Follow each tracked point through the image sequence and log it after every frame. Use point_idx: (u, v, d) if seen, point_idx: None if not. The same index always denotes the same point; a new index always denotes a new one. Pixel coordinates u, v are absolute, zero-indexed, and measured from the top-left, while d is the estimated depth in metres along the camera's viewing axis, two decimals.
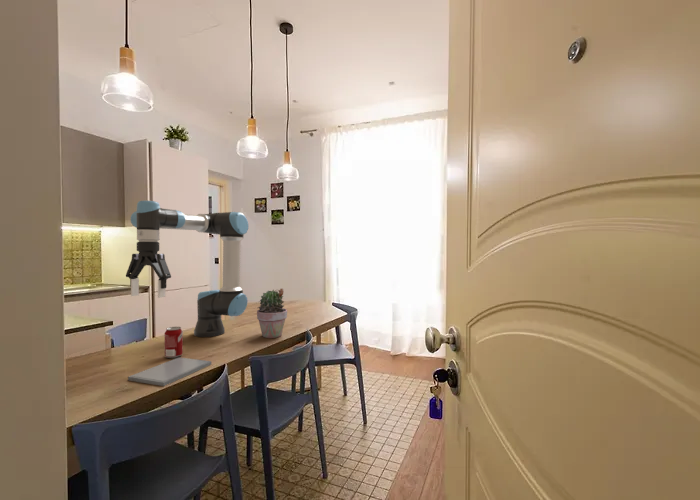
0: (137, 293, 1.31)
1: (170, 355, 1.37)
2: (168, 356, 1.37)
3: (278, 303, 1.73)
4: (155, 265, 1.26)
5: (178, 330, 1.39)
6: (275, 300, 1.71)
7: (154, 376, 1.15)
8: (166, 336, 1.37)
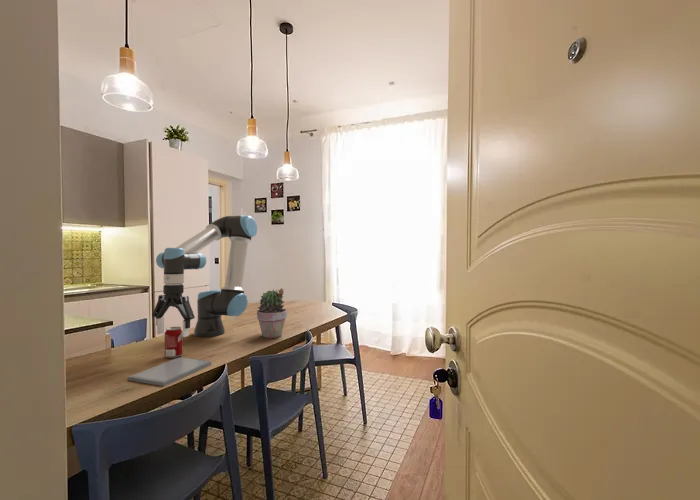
0: (162, 331, 1.43)
1: (170, 355, 1.37)
2: (168, 356, 1.37)
3: (278, 303, 1.73)
4: (180, 307, 1.38)
5: (178, 330, 1.39)
6: (275, 300, 1.71)
7: (154, 376, 1.15)
8: (166, 336, 1.37)
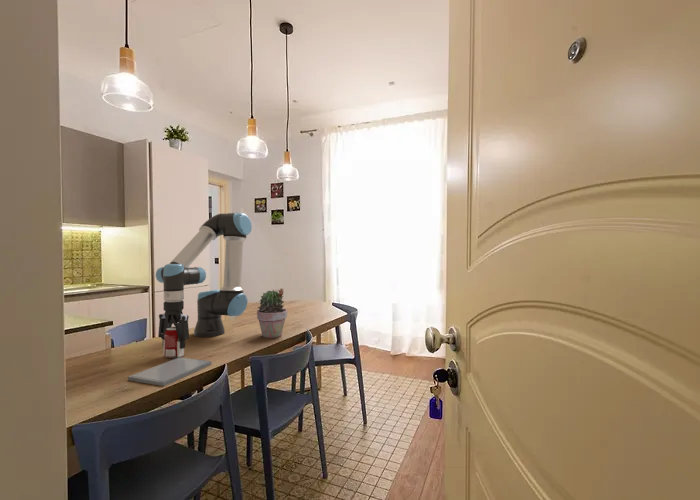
0: None
1: (170, 355, 1.37)
2: (168, 356, 1.37)
3: (278, 303, 1.73)
4: (178, 325, 1.39)
5: None
6: (275, 300, 1.71)
7: (154, 376, 1.15)
8: (166, 336, 1.37)
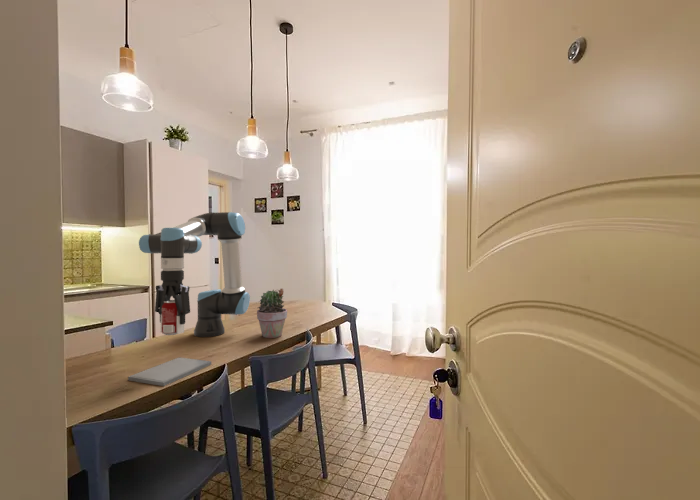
0: None
1: (168, 331, 1.19)
2: (166, 332, 1.19)
3: (278, 303, 1.73)
4: (177, 298, 1.21)
5: None
6: (275, 300, 1.71)
7: (154, 376, 1.15)
8: (164, 309, 1.20)
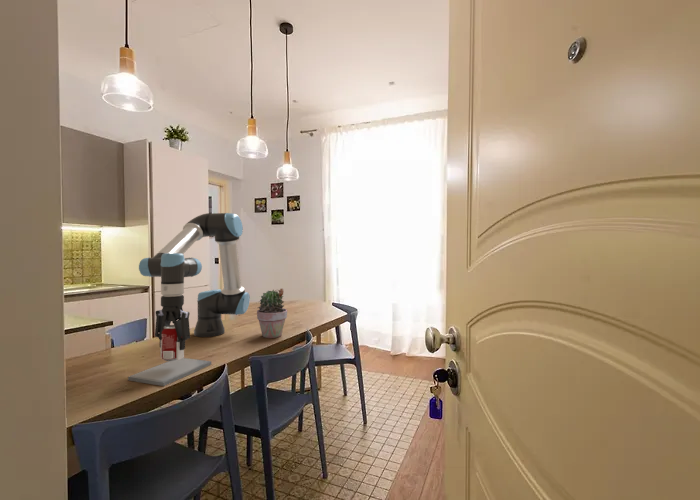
0: None
1: (168, 357, 1.19)
2: (166, 358, 1.19)
3: (278, 303, 1.73)
4: (177, 323, 1.21)
5: None
6: (275, 300, 1.71)
7: (154, 376, 1.15)
8: (163, 335, 1.19)
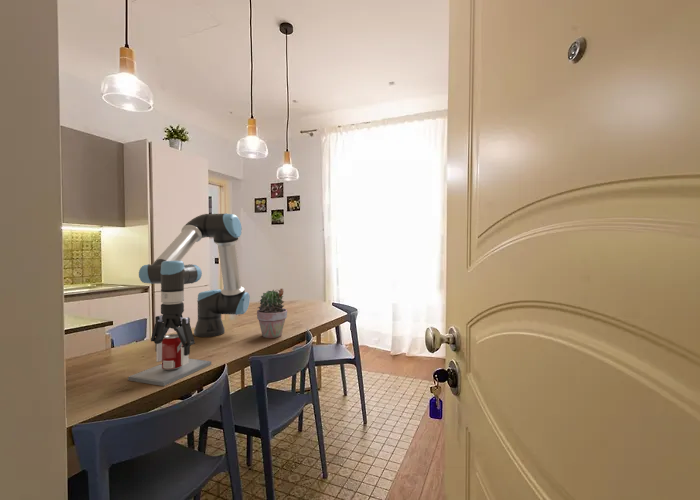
0: None
1: (168, 367, 1.19)
2: (166, 368, 1.19)
3: (278, 303, 1.73)
4: (179, 330, 1.21)
5: (177, 338, 1.22)
6: (275, 300, 1.71)
7: (154, 376, 1.15)
8: (164, 345, 1.20)
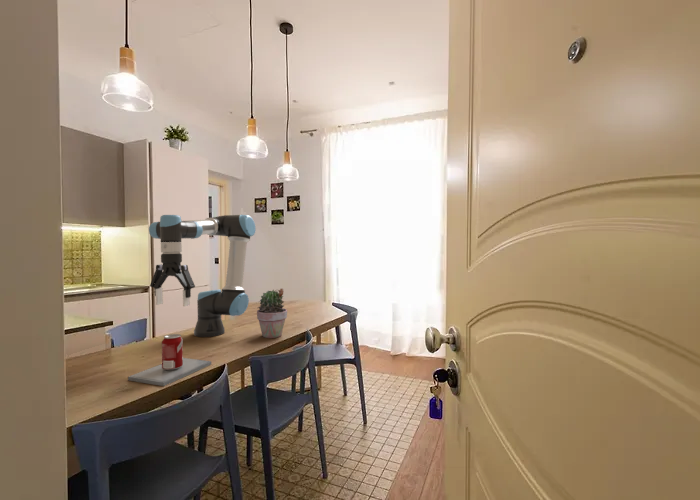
0: (161, 301, 1.39)
1: (168, 367, 1.19)
2: (166, 368, 1.19)
3: (278, 303, 1.73)
4: (179, 276, 1.34)
5: (177, 338, 1.22)
6: (275, 300, 1.71)
7: (154, 376, 1.15)
8: (164, 345, 1.20)
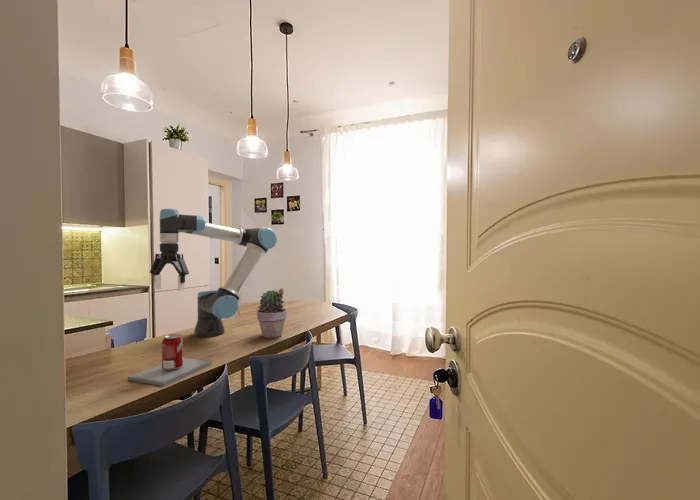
0: (159, 287, 1.54)
1: (168, 367, 1.19)
2: (166, 368, 1.19)
3: (278, 303, 1.73)
4: (175, 263, 1.49)
5: (177, 338, 1.22)
6: (275, 300, 1.71)
7: (154, 376, 1.15)
8: (164, 345, 1.20)
